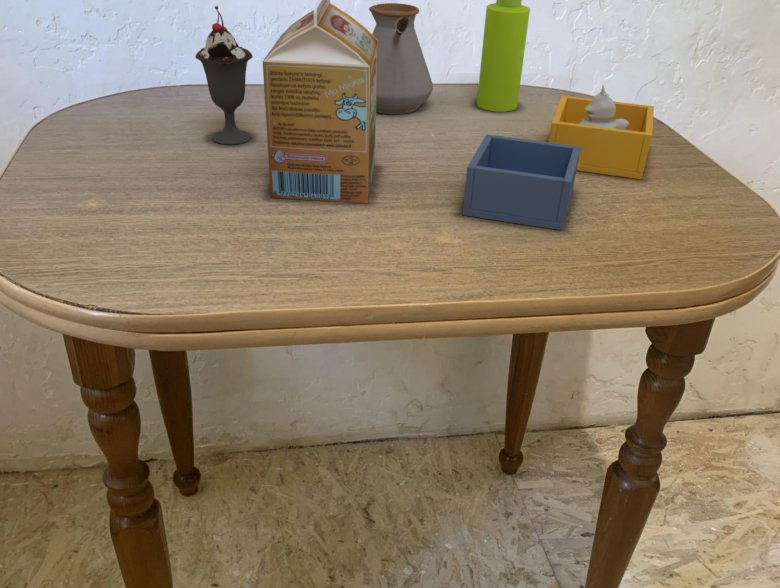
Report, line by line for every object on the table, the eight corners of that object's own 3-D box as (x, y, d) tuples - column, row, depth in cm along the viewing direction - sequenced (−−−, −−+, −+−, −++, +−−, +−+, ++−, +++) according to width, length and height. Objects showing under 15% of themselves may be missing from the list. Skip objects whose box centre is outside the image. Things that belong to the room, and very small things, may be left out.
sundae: (230, 125, 102) (219, 0, 93) (268, 137, 99) (260, 9, 90) (193, 138, 97) (177, 8, 88) (231, 151, 94) (219, 18, 85)
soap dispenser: (529, 110, 111) (551, -47, 99) (483, 112, 110) (500, -48, 98) (515, 98, 116) (535, -54, 104) (471, 100, 114) (486, -55, 102)
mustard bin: (644, 147, 101) (654, 106, 97) (641, 179, 92) (652, 135, 89) (555, 135, 103) (561, 95, 100) (544, 166, 94) (551, 122, 91)
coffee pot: (351, 93, 115) (351, -20, 106) (427, 94, 116) (434, -17, 107) (354, 143, 98) (355, 15, 89) (444, 144, 99) (454, 17, 90)
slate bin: (572, 192, 88) (581, 146, 85) (562, 230, 80) (571, 181, 77) (481, 179, 90) (486, 134, 87) (462, 215, 82) (467, 166, 79)
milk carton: (286, 162, 92) (278, -15, 81) (374, 166, 92) (378, -10, 80) (270, 197, 84) (259, 6, 72) (367, 203, 84) (371, 11, 72)
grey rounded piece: (566, 142, 99) (577, 77, 94) (616, 143, 99) (630, 78, 94) (577, 157, 95) (589, 90, 90) (629, 158, 95) (644, 91, 90)
